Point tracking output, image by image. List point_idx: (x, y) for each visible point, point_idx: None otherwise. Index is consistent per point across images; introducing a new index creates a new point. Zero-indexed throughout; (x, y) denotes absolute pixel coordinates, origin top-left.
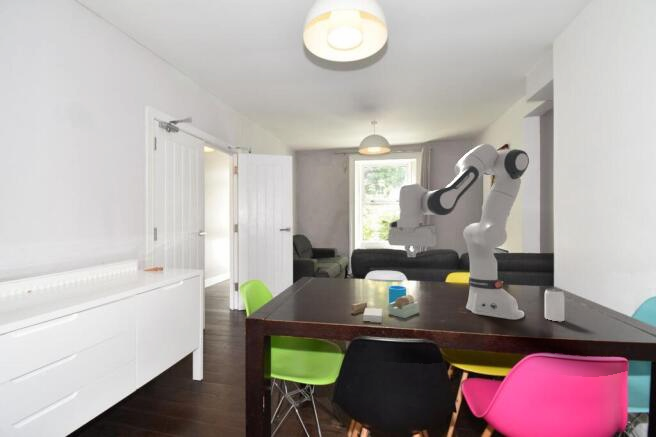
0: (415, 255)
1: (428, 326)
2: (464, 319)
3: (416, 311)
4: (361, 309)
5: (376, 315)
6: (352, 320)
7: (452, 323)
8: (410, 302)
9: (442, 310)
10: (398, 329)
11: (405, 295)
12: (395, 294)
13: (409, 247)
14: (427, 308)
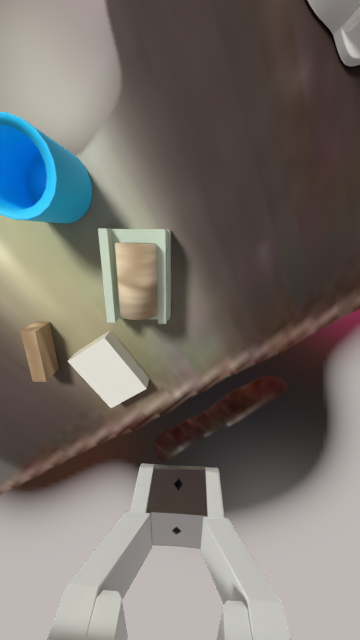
0: (219, 487)
1: (249, 329)
2: (320, 186)
3: (170, 245)
4: (50, 348)
5: (135, 393)
6: (95, 407)
7: (296, 259)
8: (156, 272)
9: (222, 124)
10: (203, 390)
11: (71, 172)
12: (49, 218)
13: (120, 626)
14: (166, 144)
